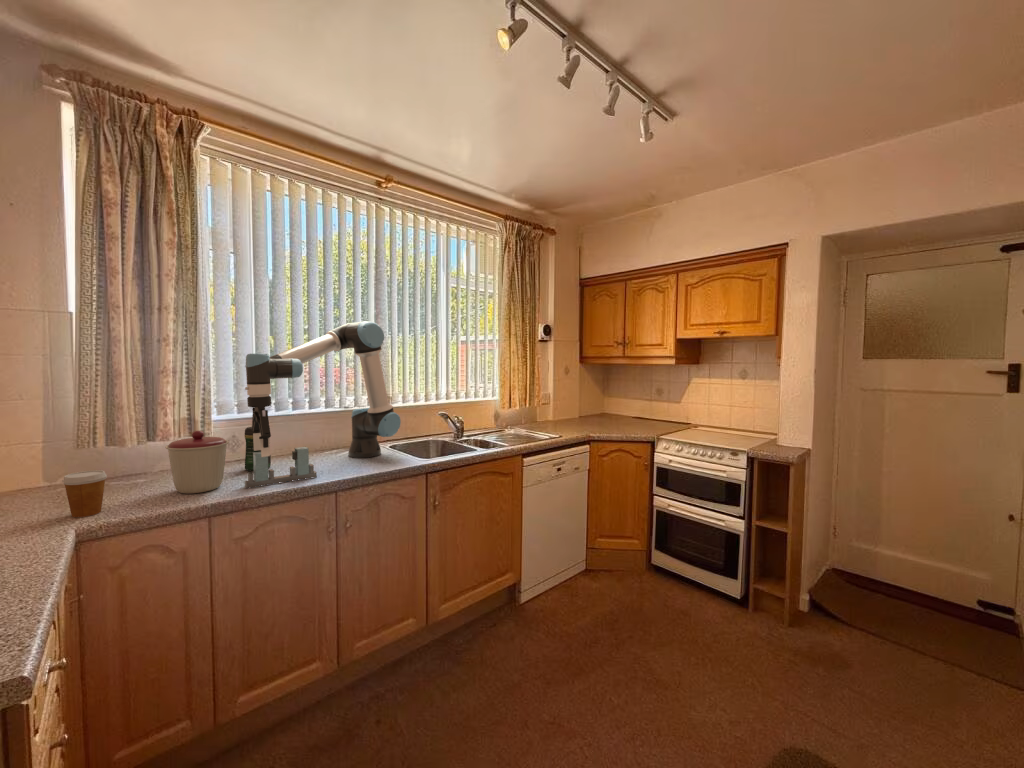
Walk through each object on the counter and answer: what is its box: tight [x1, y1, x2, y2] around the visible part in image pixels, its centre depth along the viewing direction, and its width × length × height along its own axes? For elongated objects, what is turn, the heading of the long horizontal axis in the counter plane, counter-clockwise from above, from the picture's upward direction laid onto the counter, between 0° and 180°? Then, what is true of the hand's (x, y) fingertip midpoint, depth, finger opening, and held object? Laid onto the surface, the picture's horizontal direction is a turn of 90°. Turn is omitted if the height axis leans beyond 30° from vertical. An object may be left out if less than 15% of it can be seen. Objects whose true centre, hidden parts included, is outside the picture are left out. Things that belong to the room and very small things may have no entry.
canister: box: [165, 430, 230, 494], centre depth 153 cm, size 18×18×21 cm
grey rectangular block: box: [253, 452, 272, 482], centre depth 160 cm, size 5×4×10 cm
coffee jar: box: [243, 426, 272, 472], centre depth 184 cm, size 10×8×19 cm
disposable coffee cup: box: [61, 469, 108, 518], centre depth 129 cm, size 10×10×12 cm
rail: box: [244, 446, 318, 489], centre depth 165 cm, size 24×4×12 cm, turn 130°
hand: (261, 453), depth 160 cm, fingers open, 13 cm apart
